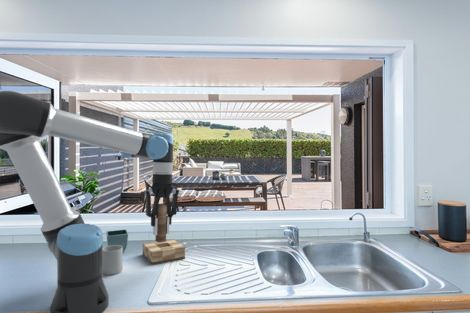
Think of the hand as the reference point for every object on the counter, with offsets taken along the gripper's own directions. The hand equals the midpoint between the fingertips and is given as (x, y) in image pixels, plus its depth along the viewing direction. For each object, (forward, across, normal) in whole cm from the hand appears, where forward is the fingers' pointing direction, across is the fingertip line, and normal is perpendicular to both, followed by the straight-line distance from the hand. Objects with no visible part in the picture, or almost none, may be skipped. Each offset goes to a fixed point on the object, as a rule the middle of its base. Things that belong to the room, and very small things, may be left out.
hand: (161, 233), depth 119 cm
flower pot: (+14, +10, -29) cm, 34 cm away
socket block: (+14, -6, -13) cm, 20 cm away
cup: (+14, +15, -8) cm, 22 cm away
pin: (+3, 0, 0) cm, 3 cm away
